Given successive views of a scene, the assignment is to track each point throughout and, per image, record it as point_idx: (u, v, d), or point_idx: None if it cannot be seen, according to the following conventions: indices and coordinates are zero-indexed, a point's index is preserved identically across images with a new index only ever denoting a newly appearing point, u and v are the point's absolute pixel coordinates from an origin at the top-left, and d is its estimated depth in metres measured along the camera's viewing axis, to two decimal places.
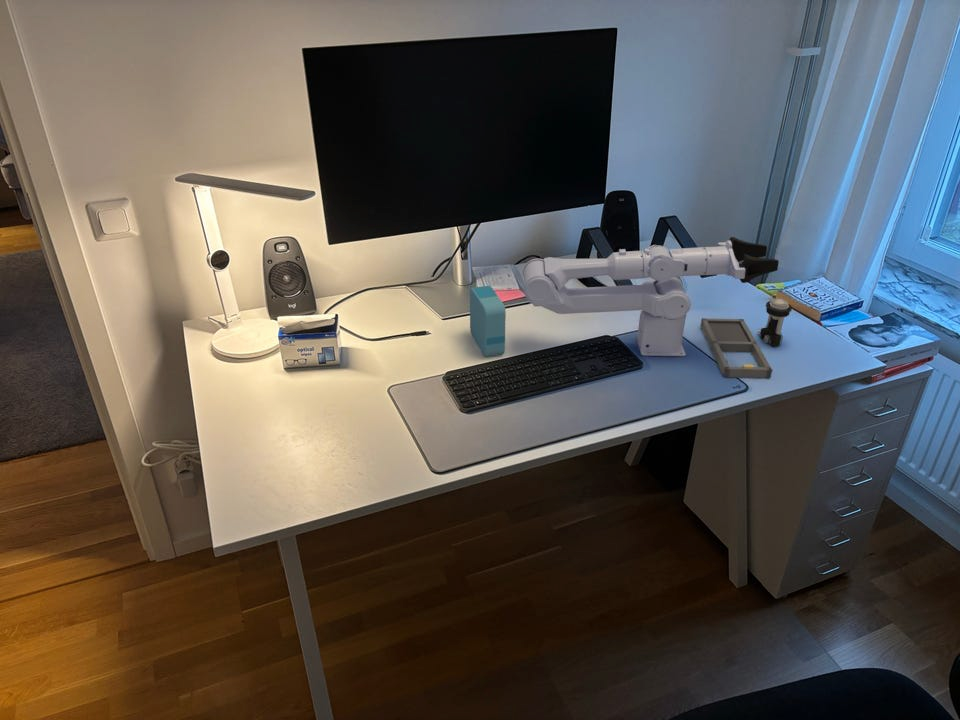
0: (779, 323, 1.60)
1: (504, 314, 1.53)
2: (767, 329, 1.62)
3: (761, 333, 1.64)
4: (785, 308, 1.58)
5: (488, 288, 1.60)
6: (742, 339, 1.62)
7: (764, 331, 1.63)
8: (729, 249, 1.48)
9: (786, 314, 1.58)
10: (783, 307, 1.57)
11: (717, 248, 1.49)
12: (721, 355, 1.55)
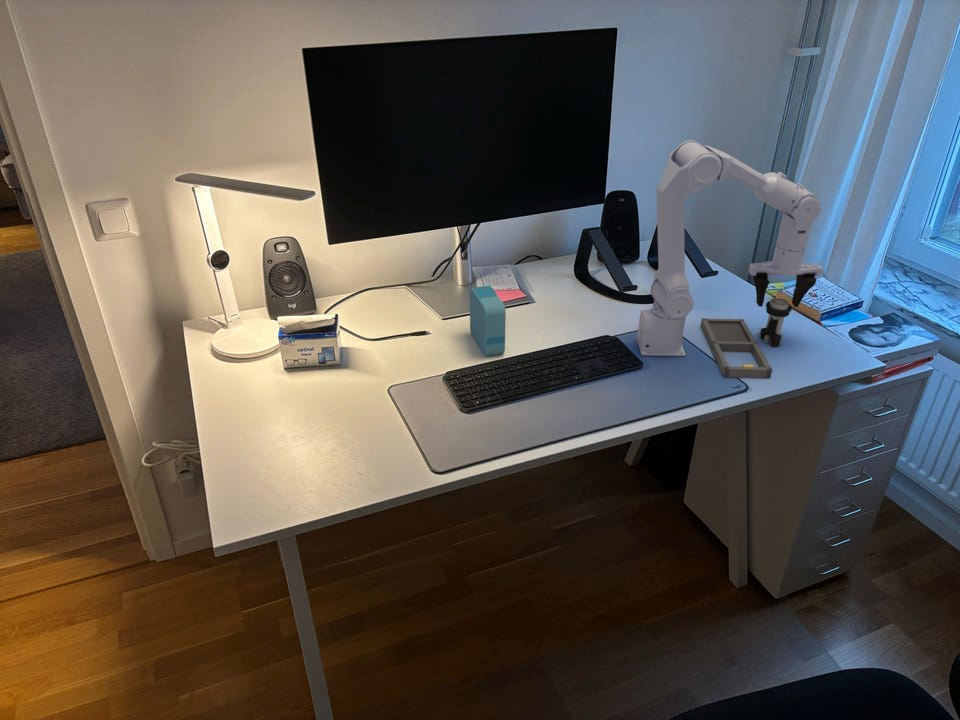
0: (779, 323, 1.60)
1: (504, 314, 1.53)
2: (767, 329, 1.62)
3: (761, 333, 1.64)
4: (785, 308, 1.58)
5: (488, 288, 1.60)
6: (742, 339, 1.62)
7: (764, 331, 1.63)
8: None
9: (786, 314, 1.58)
10: (783, 307, 1.57)
11: None
12: (721, 355, 1.55)
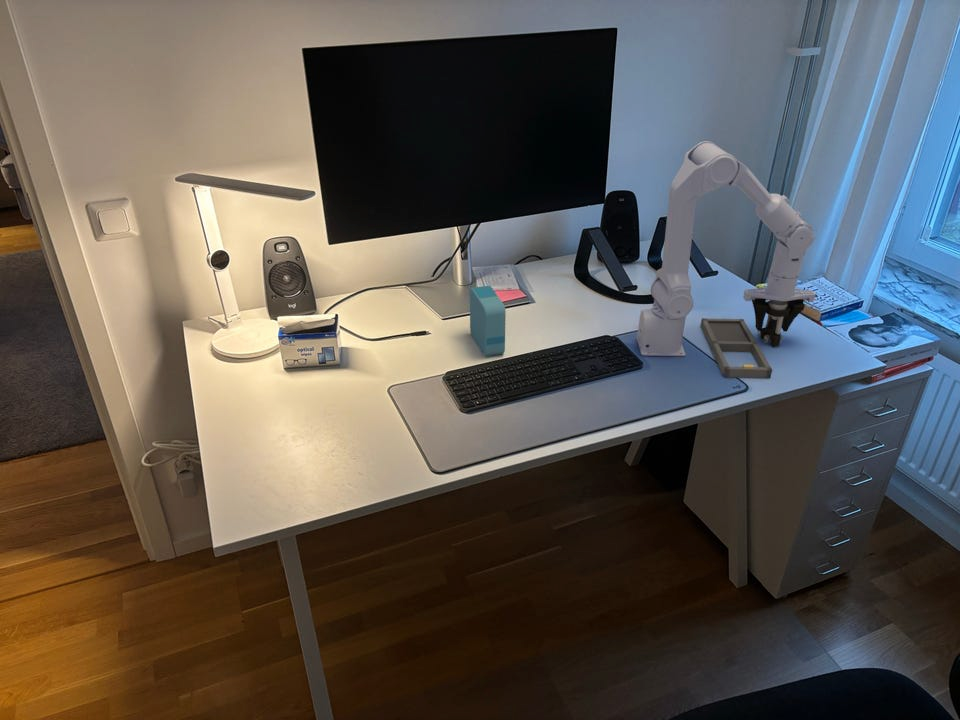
0: (778, 323, 1.60)
1: (504, 314, 1.53)
2: (767, 329, 1.62)
3: (761, 333, 1.64)
4: (784, 308, 1.58)
5: (488, 288, 1.60)
6: (742, 339, 1.62)
7: (764, 331, 1.63)
8: None
9: (785, 314, 1.58)
10: (782, 307, 1.57)
11: None
12: (721, 355, 1.55)
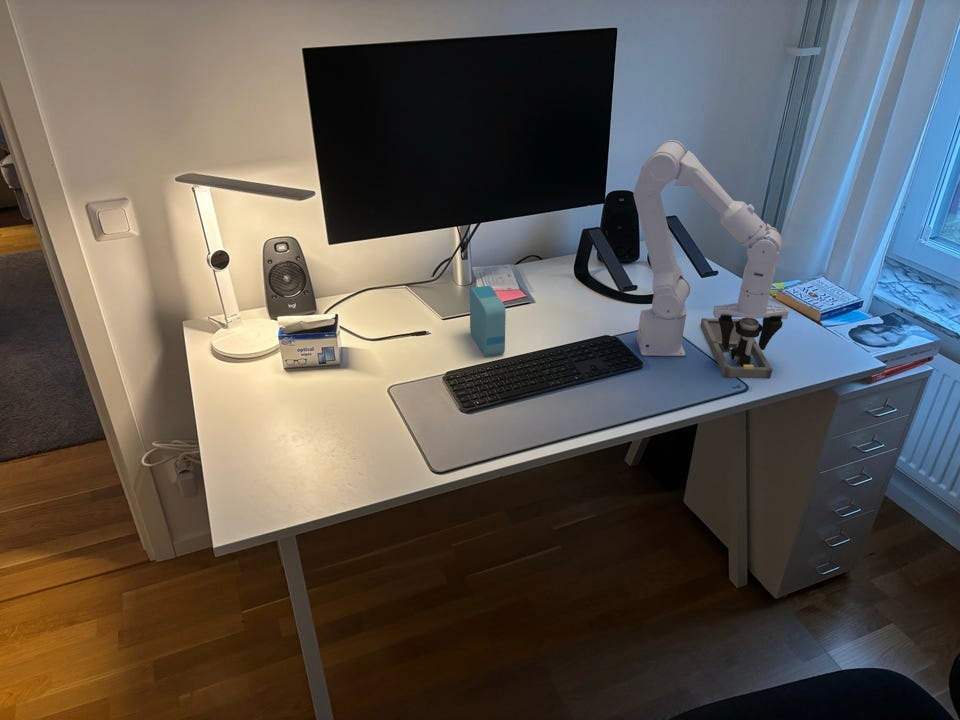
0: (748, 344, 1.52)
1: (504, 314, 1.53)
2: (737, 349, 1.54)
3: (731, 353, 1.57)
4: (754, 328, 1.50)
5: (488, 288, 1.60)
6: None
7: (734, 351, 1.56)
8: None
9: (755, 335, 1.50)
10: (752, 327, 1.50)
11: None
12: (721, 355, 1.55)
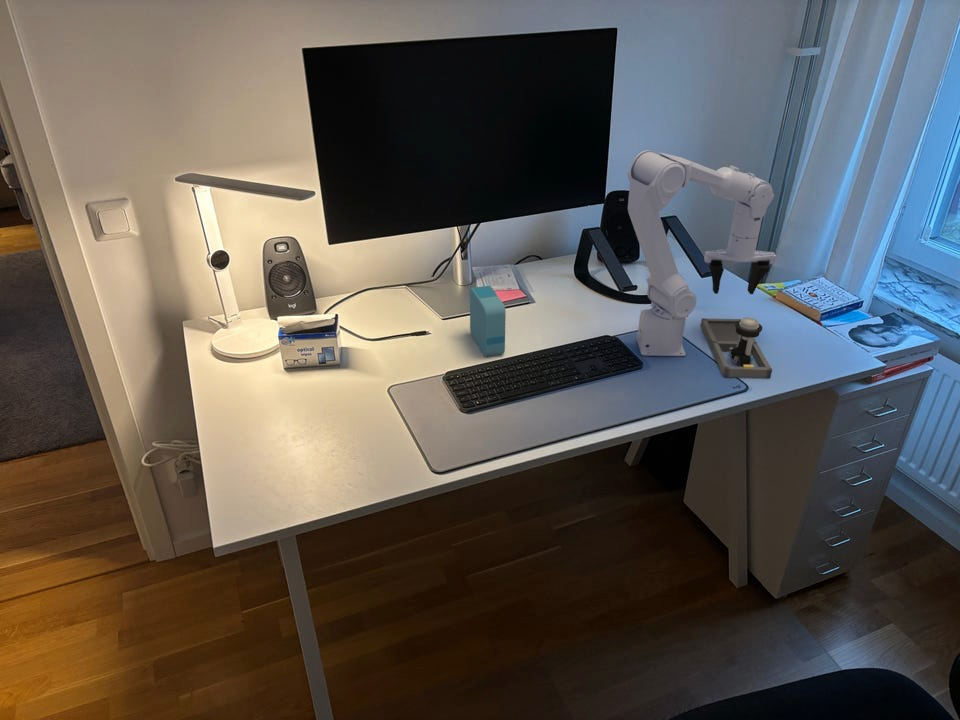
0: (748, 344, 1.52)
1: (504, 314, 1.53)
2: (736, 349, 1.54)
3: (731, 353, 1.57)
4: (754, 328, 1.50)
5: (488, 288, 1.60)
6: None
7: (734, 351, 1.56)
8: None
9: (755, 335, 1.50)
10: (752, 327, 1.50)
11: None
12: (721, 355, 1.55)
